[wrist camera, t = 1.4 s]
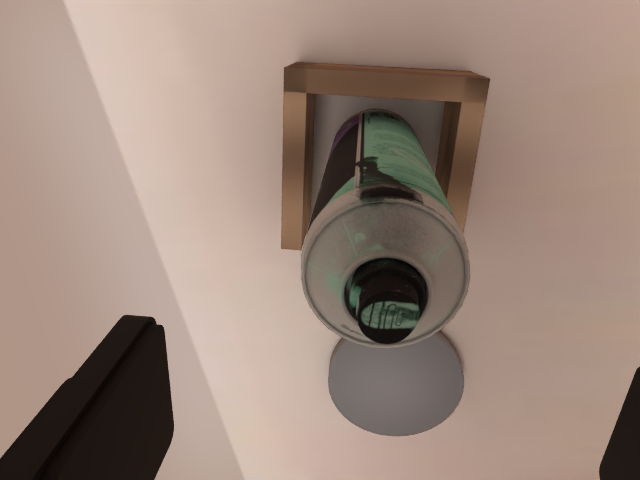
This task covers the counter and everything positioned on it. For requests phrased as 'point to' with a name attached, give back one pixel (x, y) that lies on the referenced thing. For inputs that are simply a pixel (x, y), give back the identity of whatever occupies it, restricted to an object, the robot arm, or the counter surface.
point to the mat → (396, 385)
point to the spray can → (383, 239)
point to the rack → (386, 82)
